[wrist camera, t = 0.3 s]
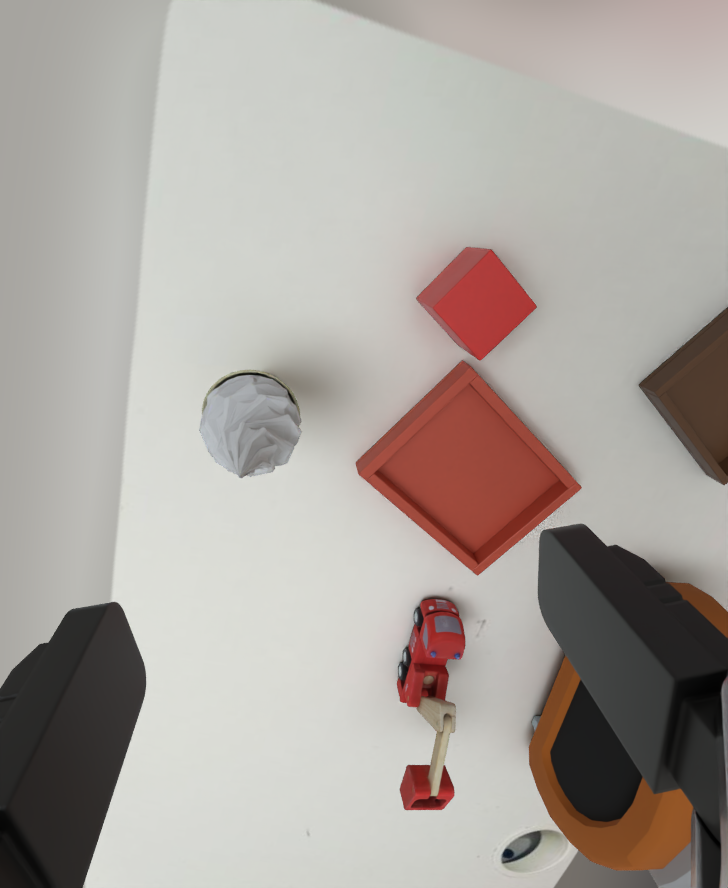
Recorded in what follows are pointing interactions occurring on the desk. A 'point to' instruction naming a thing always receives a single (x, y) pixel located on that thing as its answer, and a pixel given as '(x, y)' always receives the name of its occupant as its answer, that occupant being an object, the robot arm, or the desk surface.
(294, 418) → the ice cream cone
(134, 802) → the desk surface
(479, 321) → the red block
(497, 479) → the red tray
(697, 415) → the brown tray
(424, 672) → the toy fire truck
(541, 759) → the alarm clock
